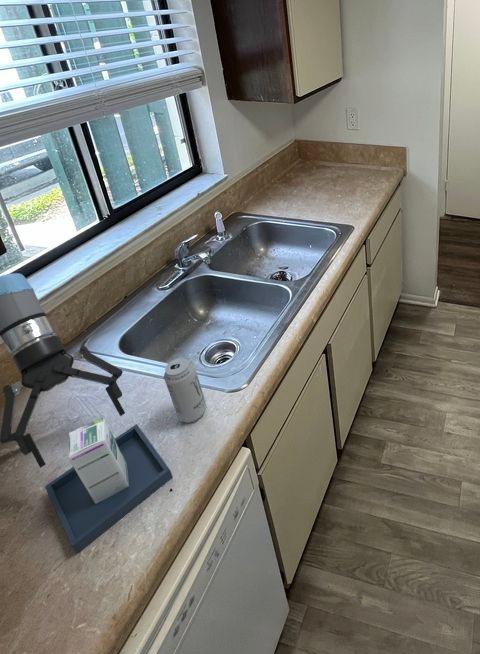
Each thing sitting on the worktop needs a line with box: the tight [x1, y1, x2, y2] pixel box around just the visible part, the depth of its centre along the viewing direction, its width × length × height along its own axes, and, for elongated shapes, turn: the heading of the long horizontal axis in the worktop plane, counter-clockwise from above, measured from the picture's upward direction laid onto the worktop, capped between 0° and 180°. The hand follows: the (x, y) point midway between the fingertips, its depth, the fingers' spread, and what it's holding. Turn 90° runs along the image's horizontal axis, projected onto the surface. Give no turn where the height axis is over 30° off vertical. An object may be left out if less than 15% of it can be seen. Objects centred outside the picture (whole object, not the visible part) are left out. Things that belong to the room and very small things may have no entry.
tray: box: [44, 424, 173, 555], centre depth 85 cm, size 16×17×3 cm
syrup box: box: [67, 417, 129, 504], centre depth 82 cm, size 6×6×14 cm
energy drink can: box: [163, 356, 207, 424], centre depth 97 cm, size 6×6×15 cm
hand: (85, 439), depth 85 cm, fingers open, 13 cm apart
